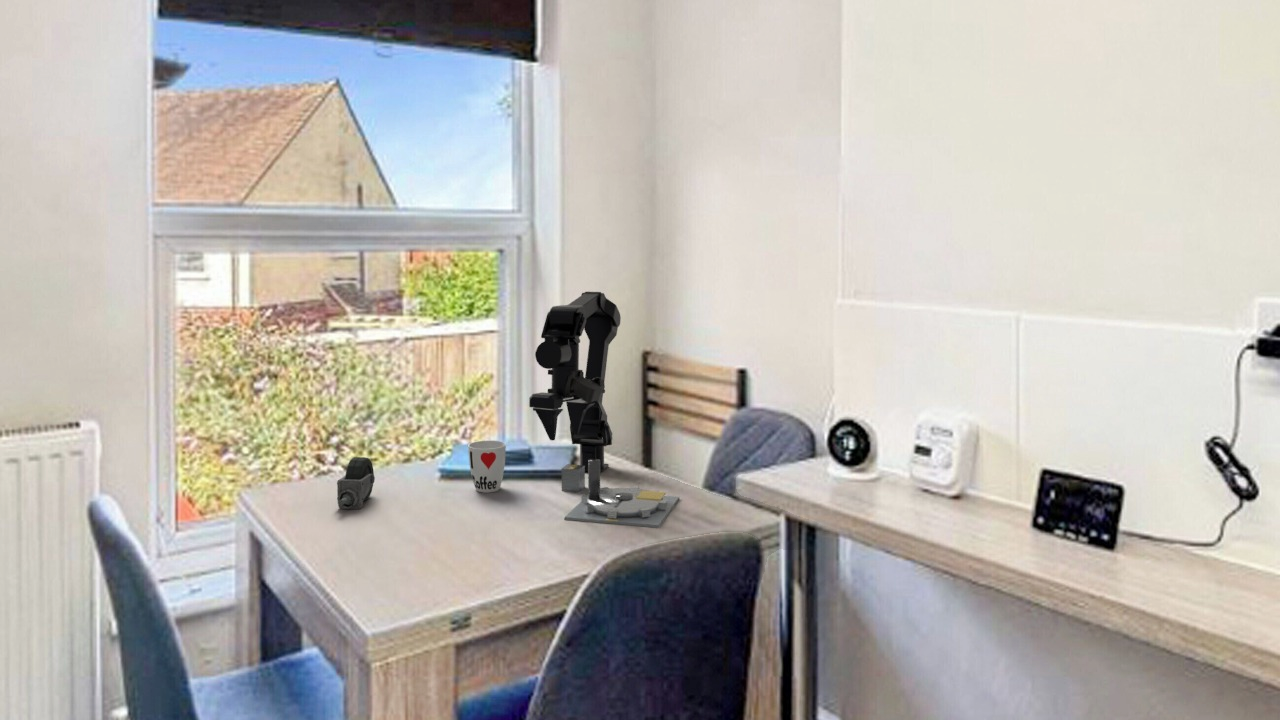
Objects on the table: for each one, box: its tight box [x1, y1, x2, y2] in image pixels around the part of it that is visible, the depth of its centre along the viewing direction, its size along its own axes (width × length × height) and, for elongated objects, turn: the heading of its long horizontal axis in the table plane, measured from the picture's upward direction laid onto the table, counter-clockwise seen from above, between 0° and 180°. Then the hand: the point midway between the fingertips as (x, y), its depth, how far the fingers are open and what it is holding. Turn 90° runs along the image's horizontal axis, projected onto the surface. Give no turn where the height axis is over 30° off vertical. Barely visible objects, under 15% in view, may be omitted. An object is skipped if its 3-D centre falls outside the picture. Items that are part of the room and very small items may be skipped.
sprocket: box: [580, 459, 667, 519], centre depth 184 cm, size 18×18×10 cm
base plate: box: [564, 495, 680, 529], centre depth 184 cm, size 19×19×1 cm
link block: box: [560, 463, 586, 493], centre depth 198 cm, size 4×4×5 cm
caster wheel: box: [336, 456, 376, 510], centre depth 187 cm, size 6×10×15 cm
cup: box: [467, 440, 507, 493], centre depth 197 cm, size 8×8×10 cm
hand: (564, 437), depth 195 cm, fingers open, 9 cm apart
